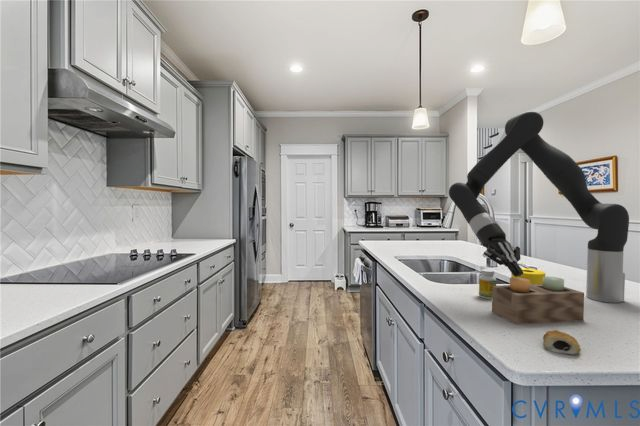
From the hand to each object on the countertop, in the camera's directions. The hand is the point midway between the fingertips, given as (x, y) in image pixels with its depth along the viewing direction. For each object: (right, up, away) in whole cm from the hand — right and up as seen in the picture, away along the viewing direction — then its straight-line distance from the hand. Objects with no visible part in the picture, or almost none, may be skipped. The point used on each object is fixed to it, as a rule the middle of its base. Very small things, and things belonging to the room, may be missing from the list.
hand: (519, 275), depth 91 cm
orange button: (0, -4, 0) cm, 4 cm away
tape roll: (+15, -12, +19) cm, 27 cm away
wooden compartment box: (+5, -12, +1) cm, 14 cm away
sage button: (+11, -4, +1) cm, 12 cm away
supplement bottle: (+1, -12, +20) cm, 23 cm away
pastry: (-3, -13, -19) cm, 23 cm away
